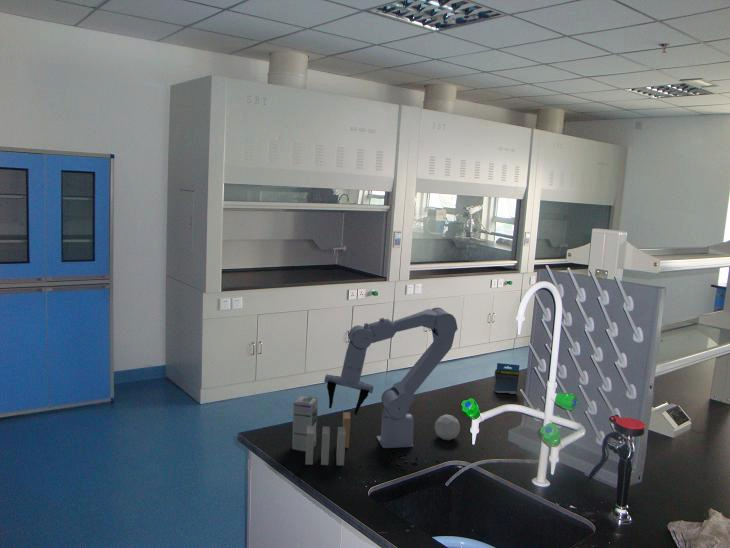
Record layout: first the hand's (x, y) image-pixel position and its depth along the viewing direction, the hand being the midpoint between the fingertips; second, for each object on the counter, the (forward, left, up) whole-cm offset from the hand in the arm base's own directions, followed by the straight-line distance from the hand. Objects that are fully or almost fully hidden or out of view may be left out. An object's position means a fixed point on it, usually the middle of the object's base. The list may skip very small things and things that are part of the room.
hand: (342, 410), depth 174 cm
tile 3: (+7, +10, -11) cm, 16 cm away
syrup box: (+11, +1, -11) cm, 16 cm away
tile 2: (+2, +11, -11) cm, 15 cm away
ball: (-34, 0, -11) cm, 35 cm away
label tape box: (-74, -39, -11) cm, 84 cm away
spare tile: (-1, 0, -11) cm, 11 cm away
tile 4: (+11, +9, -11) cm, 18 cm away
